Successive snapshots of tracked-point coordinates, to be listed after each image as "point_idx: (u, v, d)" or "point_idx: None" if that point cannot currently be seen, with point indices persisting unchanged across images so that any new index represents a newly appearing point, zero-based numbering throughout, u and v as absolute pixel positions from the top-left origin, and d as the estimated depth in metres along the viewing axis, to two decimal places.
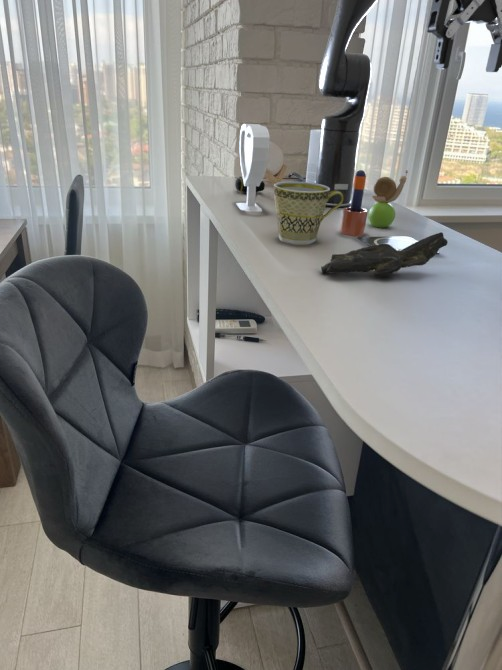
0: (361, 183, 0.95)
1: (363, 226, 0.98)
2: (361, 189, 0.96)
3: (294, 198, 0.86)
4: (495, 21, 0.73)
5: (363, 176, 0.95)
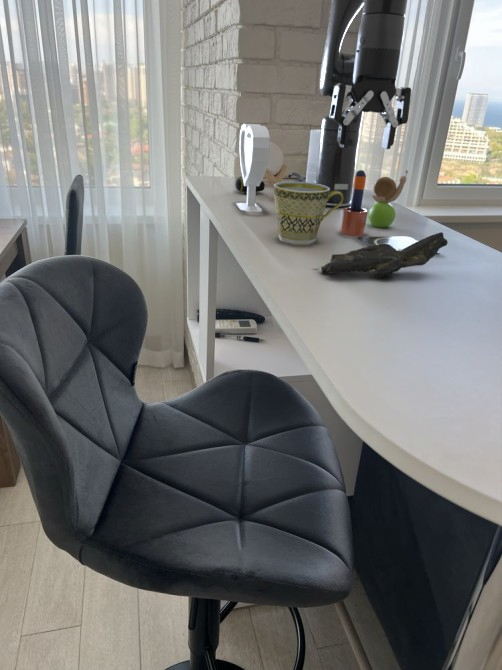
0: (361, 183, 0.95)
1: (363, 226, 0.98)
2: (361, 189, 0.96)
3: (294, 198, 0.86)
4: None
5: (363, 176, 0.95)
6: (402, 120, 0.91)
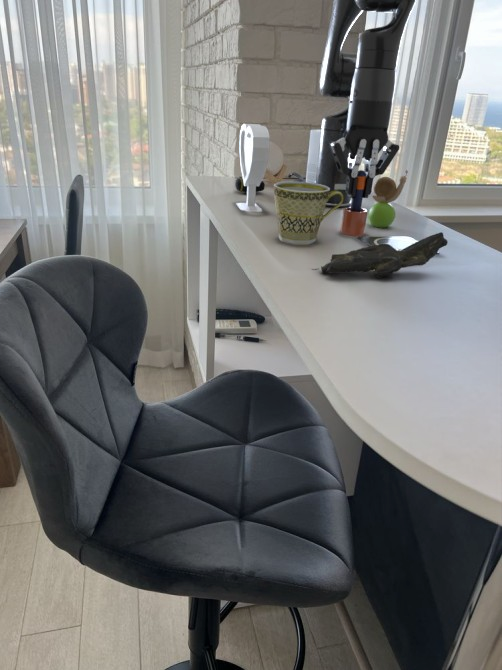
0: (361, 183, 0.95)
1: (363, 226, 0.98)
2: (361, 189, 0.96)
3: (294, 198, 0.86)
4: (370, 159, 0.95)
5: (363, 176, 0.95)
6: (379, 171, 0.95)
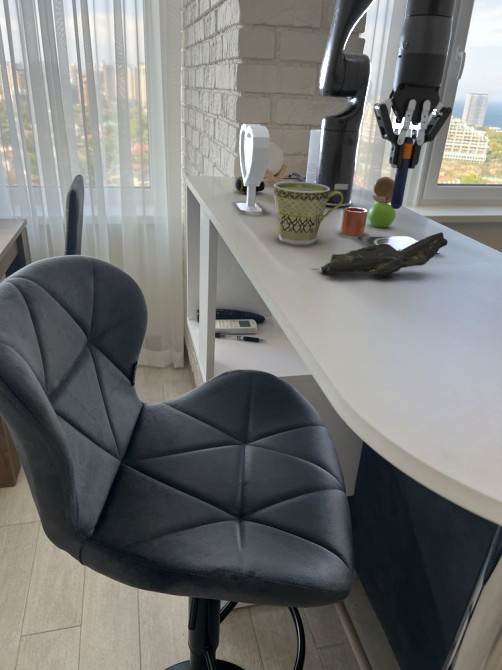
0: (408, 152, 0.84)
1: (363, 226, 0.98)
2: (408, 158, 0.85)
3: (294, 198, 0.86)
4: (417, 124, 0.84)
5: (410, 143, 0.84)
6: (428, 138, 0.84)
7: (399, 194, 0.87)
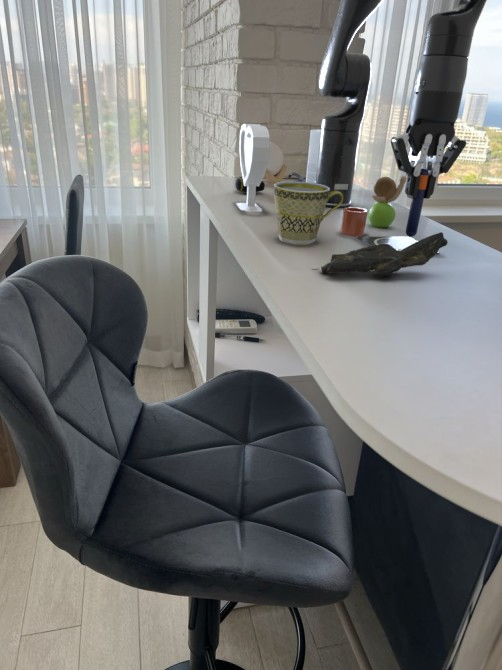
0: (423, 183, 0.87)
1: (363, 226, 0.98)
2: (423, 189, 0.88)
3: (294, 198, 0.86)
4: (433, 156, 0.87)
5: (426, 175, 0.86)
6: (443, 169, 0.87)
7: (414, 223, 0.90)
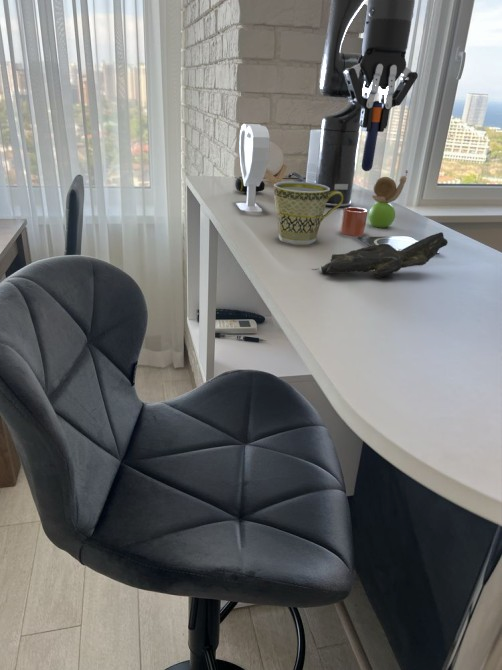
0: (377, 115, 0.89)
1: (363, 226, 0.98)
2: (377, 121, 0.90)
3: (294, 198, 0.86)
4: (386, 89, 0.89)
5: (379, 107, 0.89)
6: (396, 102, 0.89)
7: (369, 156, 0.92)
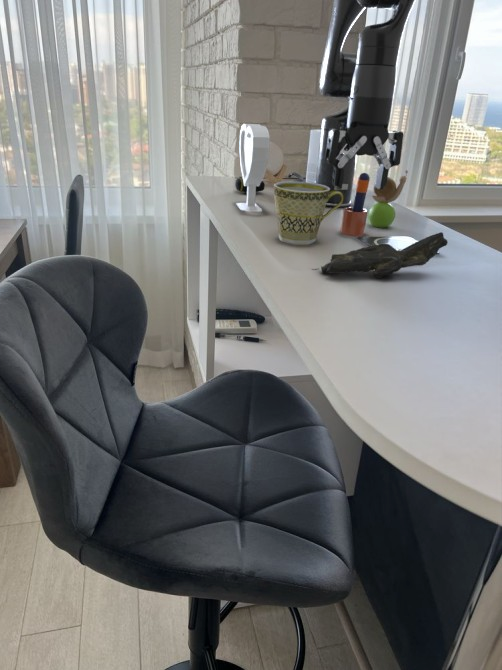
0: (364, 187, 0.94)
1: (363, 226, 0.98)
2: (364, 192, 0.94)
3: (294, 198, 0.86)
4: None
5: (366, 180, 0.93)
6: (395, 162, 0.95)
7: None
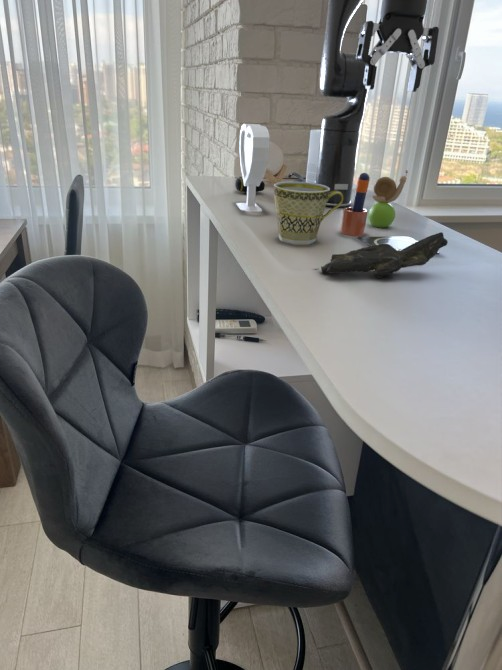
0: (364, 187, 0.94)
1: (363, 226, 0.98)
2: (364, 192, 0.94)
3: (294, 198, 0.86)
4: (412, 51, 0.91)
5: (367, 180, 0.93)
6: (429, 61, 0.91)
7: None
